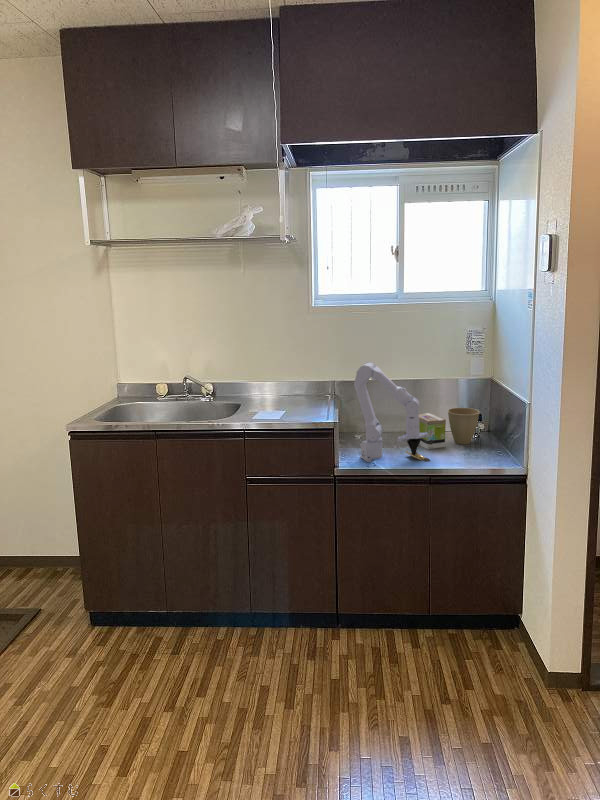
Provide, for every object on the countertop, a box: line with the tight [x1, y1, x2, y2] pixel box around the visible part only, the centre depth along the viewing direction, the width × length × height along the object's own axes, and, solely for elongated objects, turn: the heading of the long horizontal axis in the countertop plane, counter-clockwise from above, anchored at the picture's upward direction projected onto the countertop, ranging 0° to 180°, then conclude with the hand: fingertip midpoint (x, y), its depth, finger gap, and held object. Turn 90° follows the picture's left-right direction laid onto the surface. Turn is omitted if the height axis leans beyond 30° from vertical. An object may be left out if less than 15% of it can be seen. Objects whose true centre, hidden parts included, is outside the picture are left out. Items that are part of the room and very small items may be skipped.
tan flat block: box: [405, 450, 426, 461], centre depth 274 cm, size 7×8×2 cm
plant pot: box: [447, 407, 480, 445], centre depth 296 cm, size 15×15×16 cm
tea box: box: [418, 412, 447, 450], centre depth 293 cm, size 15×10×15 cm, turn 18°
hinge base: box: [416, 451, 431, 463], centre depth 276 cm, size 10×12×2 cm
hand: (413, 454), depth 272 cm, fingers closed, pressing on tan flat block
